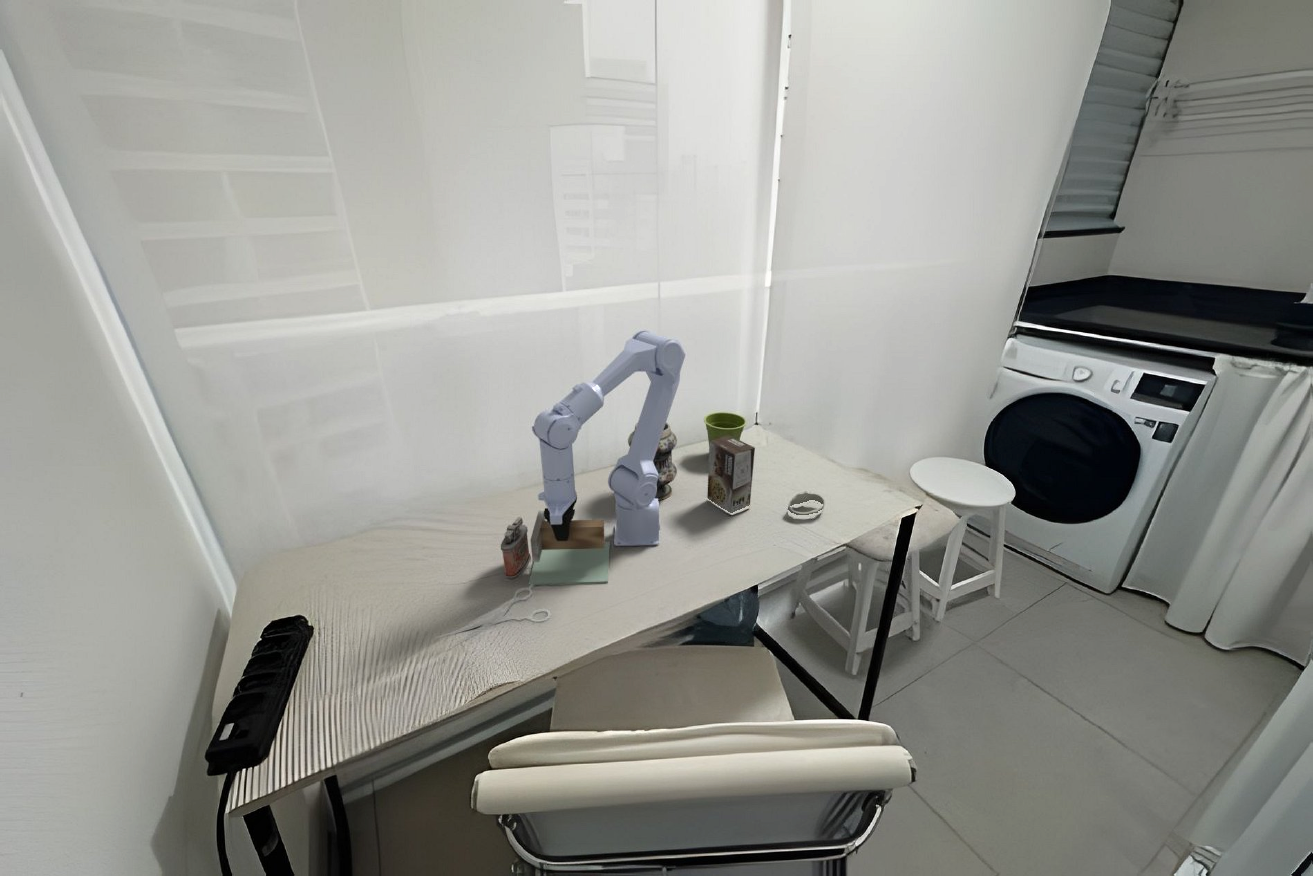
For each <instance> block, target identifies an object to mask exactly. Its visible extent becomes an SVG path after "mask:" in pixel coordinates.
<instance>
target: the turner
mask: <svg viewBox="0 0 1313 876" xmlns="http://www.w3.org/2000/svg"><path fill="white" fill-rule="evenodd" d="M604 521H605V520H604V519H578V520H577V519H574V520H573V519H572V520H571V523H570V530H569V537H568V541H557V540H556V537H555V535H554V532H553V529H552V527H551V525H550V523H549V522H548V521H547V520H546V519H545V517H544V510H538V511H537V515H536V518H535V523H534V525H533V530H532V533H531V536H530V548H531V550H530V551H531V560H532V563H534V562H539V561H540V557H541V553H542V550H560V549H599V548H604V544H605V541H606V539H605V522H604Z"/></svg>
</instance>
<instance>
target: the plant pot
mask: <svg viewBox="0 0 1313 876" xmlns="http://www.w3.org/2000/svg"><path fill="white" fill-rule="evenodd" d="M703 422H704V424H705V427H706V432H707V441H708V443H709V442H710V441H713V440H716V439H718V438H721V437H724V436H728V435H730V436H732V437H734V438H736V439H738V440H740V439H741V435H742V433H743V431H744V427H745V426H746V425H747V418H745V417H744V416H742V415H740V414H737V413H733V412H728V411H727V412H725V411H721V412H719V411H718V412H712V413H708V414H707V415H706V416H704V418H703ZM740 441H741V440H740Z"/></svg>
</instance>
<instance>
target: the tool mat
mask: <svg viewBox="0 0 1313 876" xmlns="http://www.w3.org/2000/svg"><path fill="white" fill-rule="evenodd" d="M610 544H611V541H607V540H605V544H604V548H599V549H560V550H542V553H541V557H540V561H539V562H533V565H532V569H531V573H530V576H529V580H528V586H530V585H531V584H534V586H544V585H545V586H547V585H548V586H549V585H551V586H552V585H554V586H555V585H582V584H584V585H587V584H608V583H609V564H610V547H611V545H610Z"/></svg>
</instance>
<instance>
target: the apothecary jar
mask: <svg viewBox="0 0 1313 876" xmlns="http://www.w3.org/2000/svg"><path fill="white" fill-rule="evenodd" d="M637 424H638V422H636V424H635V425H634V430H632V431H631V433H630V434H629V436H628V439H627V444H628V446H629V447H630V446H631V442H632V439H633V436H634V433H635V430H636V427H637ZM677 443H678V439H677V436H676V434H675V433H674V432H673V431H672V430H671V426H670V423H668V422H667V421H666V424H665V427H664V430H663V433H662V436H661V439H660V442H659V445H658V448H657V451H656V454H655V457H654V460H653V463H654V466H655V468H656V470H657V472H658V475H659V477H658V480H657V492H656V496H655V498H657V499H658V500H659V501H663V500H665V499H667V497H668V498H669V497H670V496H671V495H672V493H673V488H672V487H671V485H670V483H672V482H673V481H674V480H675V478H676V477H677V474H678V472H677V471H678V470H677V467H676V465H675V464H674V462H673V455H672V453H673V450H674V449H675V448H676V446H677ZM662 499H663V500H662Z"/></svg>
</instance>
